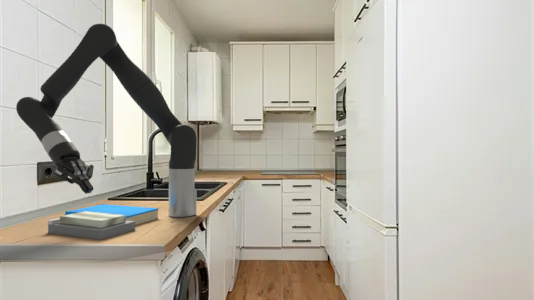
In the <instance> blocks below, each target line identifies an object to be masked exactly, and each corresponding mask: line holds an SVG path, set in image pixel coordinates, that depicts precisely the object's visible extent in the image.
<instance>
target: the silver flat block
mask: <svg viewBox="0 0 534 300" xmlns="http://www.w3.org/2000/svg"><path fill="white" fill-rule="evenodd" d="M59 218H60V223H64V224H72V225H81V226H89V227H98V228H104V227H108V226H111V225H115V224H119V223H123V222H126V219H127V218H126V215H119V214H109V213H98V212H88V211H85V212H79V213H74V214H69V215H65V214H64V215H60V216H59Z"/></svg>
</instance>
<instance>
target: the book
mask: <svg viewBox="0 0 534 300" xmlns="http://www.w3.org/2000/svg"><path fill="white" fill-rule="evenodd" d="M159 209H160V208H159V207H158V208H157V207H146V206H130V205H116V204H105V203H104V204H97V205H93V206H87V207H82V208H77V209H71V210H66V211H65V213H64V215H69V214H74V213H79V212H85V211H88V212H98V213H109V214H119V215H126V220H127V221H135V226H137V225H140V224H143V223H146V222H150V221H153V220H156V219H159Z"/></svg>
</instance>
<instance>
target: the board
mask: <svg viewBox="0 0 534 300" xmlns="http://www.w3.org/2000/svg"><path fill="white" fill-rule="evenodd" d="M135 230H136V225H135V221H127V220H126V222H123V223H119V224H115V225H111V226H108V227H104V228H98V227H89V226H81V225H72V224H64V223H60V217H58V218H53V219H48V220H47V233H48V234H54V235H62V236H69V237H77V238H84V239H86V238H87V239H92V240H99V241H101V240H104V239H105V240H106V239H107V238H112V237H115V236H119V235H123V234H125V233H128V232H132V231H135Z"/></svg>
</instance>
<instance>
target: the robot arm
mask: <svg viewBox="0 0 534 300" xmlns="http://www.w3.org/2000/svg"><path fill="white" fill-rule="evenodd" d="M116 35H117V34H116V32H115V31H114V29H113V28H112V27H111V26H109V25H107V24H105V23H95V24H92V25H90V27H89V28H88V30H87V31H86V32H85V34H84V35H83V37H82V38H81V41H80V42H79V43H78V45H77V46H76V47H75V49H74V50H73V52H72V53H71V54H70V55H69V56H68V57H67V59H66V60H65V61H64V62H62V64H61V65H60V66H59V67H58V68H57V69H56V70H55V71H54V72H53V73H52V74H51V75H50V76H49V77H48V78H47V79H46V80H45V81H44V83H43V84H42V85H41V86H40V89H39V90H40V91H41V93H42V94H43V97H42V99H41V100H39V99H37V98H34V97H31V96H24V97H21V98H20V99H19V100H18V101H17V102H16V107H15V109H16V113H17V115H18V117H19V118H20V119H21V120H22V122H24V123H25V125H26V126H28V128H29V129H31V130H32V131H33V133H34V135H36V138H37V139H38V140H39V142H40V143H41V145H42V147H43V150H44V151H45V152H46V154H47V156H48V157H49V158H50V160H51V161H52V163H53V165H54V166H55V167H57V168H56V169H55V170H54V172H53V175H55V176H57V177H58V178H61V179H62V180H64V181H65V182H68V183H69V184H70V185H73V184H76V185H77V186H79V188H80V189H81V191H82V192H83V193H84V194H91V193H92V192H93V190H94V186H93V185H92V183H91V182H90V180H91V179H92V177H93V175H94V167H95V166H94V165H93V164H89V165H88V164H86V163H85V161H84V160H82V159H81V153H80V152H79V150H78V149H77V147H76V145H75V144H74V143H73V141H72V139H71V138H70V137H69V136H68V135H67V134H66V133H65V132H64V130H63V129H62V127H61V126H60V124H59V123H58V122H57V121H56V120H55V119H53V118H54V116H55V115H56V113H57V110H59V107H60V105H61V103H62V101H63V99H64V98H65V97H66V96H67V95H68V94H69V93H70V92H71V91H72V90H73V89H74V87H75V86H76V85H77V84H78V82H79V81H80V80H81V78H82V77H83V75H84V74H85V72H86V71H88V68H90V66H91V65H92V64H93V63H94V62H95V61H96V60H97V59H99V58H100V59H101V60H102V61H103V63H105V65H106V66H108V68H109V69H110V70H111V71H112V73H113V74H114V75H115V76H116V78H117V80H118V81H119V83H120V84H121V86H122V87H123V88H124V90H125V91H126V92H127V94H128V95H129V96H130V97H131V99H132V100H133V101H134V102H135V104H137V106H138V107H139V108H140V109H141V110H142V111H143V112H144V113H145V114H146V116H148V117H149V119H151V120H152V121H153V123H154V124H155V125H156V126H157V127H158V129H159V131H160V132H161V133H162V135H163V137H164V138H165V139H166V141H167V142H168V143H169V145H170V158H169V162H168V217H173V218H186V217H191V216H194V215H195V216H196V215H197V205H198V204H197V203H198V202H197V198H198V197H197V196H198V194H197V191H198V190H197V188H195V175H196V174H195V173H196V172H195V171H196V170H195V166H196V165H195V164H196V160H197V144H198V143H197V141H198V140H197V139H198V138H197V133H196V131H195V129H194V128H193V127H192V126H191V125H188V124H183V123H181V121H180V120H179V119H178V118H177V117H176V116H175V114H174V113H173V112H172V111H171V109H170V107H169V105H168V103H167V101H166V99H165V98H164V95H163V94H162V92H161V90H159V88H158V86H156V84H155V83H154V82H153V80H152V79H151V78H150V76H149V75H148V74H146V72H145V71H143V70H142V69H141V68H140V67H139V66H138V65H137V64H136V63H134V62H133V61H132V60H131V59H130V57H129V56H128V55H127V53H126V52H125V51H124V50H123V47H122V45H120V43H119V42H118V39H117V36H116Z"/></svg>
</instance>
